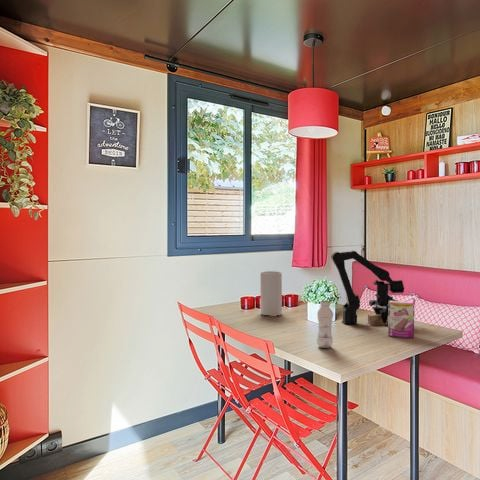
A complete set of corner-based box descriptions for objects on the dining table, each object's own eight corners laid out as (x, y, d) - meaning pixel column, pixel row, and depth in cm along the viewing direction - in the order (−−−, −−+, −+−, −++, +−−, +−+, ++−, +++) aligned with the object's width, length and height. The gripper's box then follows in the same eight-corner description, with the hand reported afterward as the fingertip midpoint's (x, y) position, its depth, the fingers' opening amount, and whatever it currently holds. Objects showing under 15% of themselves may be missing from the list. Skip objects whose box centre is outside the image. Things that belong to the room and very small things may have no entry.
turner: (371, 326, 195) (371, 316, 195) (366, 323, 201) (366, 314, 201) (402, 324, 197) (402, 315, 197) (395, 321, 203) (395, 312, 203)
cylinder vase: (282, 316, 216) (282, 273, 215) (261, 316, 216) (260, 273, 215) (280, 311, 229) (280, 271, 228) (260, 311, 229) (260, 271, 228)
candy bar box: (388, 336, 176) (388, 302, 175) (387, 333, 181) (388, 300, 180) (414, 339, 172) (414, 303, 172) (413, 335, 177) (413, 301, 177)
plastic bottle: (315, 345, 164) (315, 300, 164) (330, 344, 165) (330, 299, 164) (319, 350, 158) (319, 303, 157) (335, 349, 159) (335, 302, 158)
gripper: (406, 295, 190) (406, 326, 191) (387, 289, 208) (387, 317, 209) (386, 296, 188) (385, 327, 189) (368, 290, 207) (368, 318, 208)
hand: (382, 322), depth 199 cm, fingers open, 4 cm apart
